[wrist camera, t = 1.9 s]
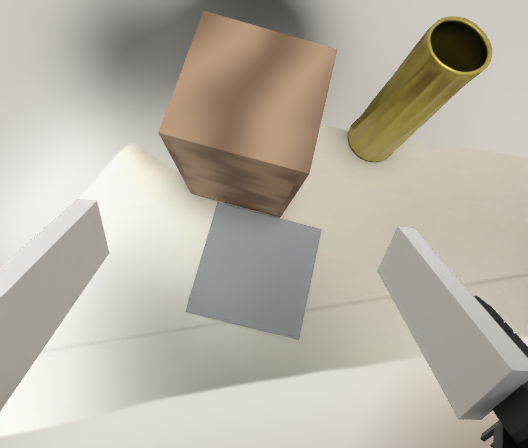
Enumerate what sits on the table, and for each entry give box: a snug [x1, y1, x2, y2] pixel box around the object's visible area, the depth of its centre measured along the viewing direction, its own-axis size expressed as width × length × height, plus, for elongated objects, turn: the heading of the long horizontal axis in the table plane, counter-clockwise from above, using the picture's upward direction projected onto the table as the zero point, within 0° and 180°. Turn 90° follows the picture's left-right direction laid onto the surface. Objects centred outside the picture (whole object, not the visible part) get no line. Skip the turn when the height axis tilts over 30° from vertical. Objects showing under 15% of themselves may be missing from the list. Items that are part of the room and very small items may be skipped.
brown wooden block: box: [159, 11, 337, 217], centre depth 26 cm, size 10×10×13 cm
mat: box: [186, 202, 321, 340], centre depth 30 cm, size 12×12×1 cm
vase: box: [348, 17, 492, 162], centre depth 28 cm, size 6×6×14 cm
